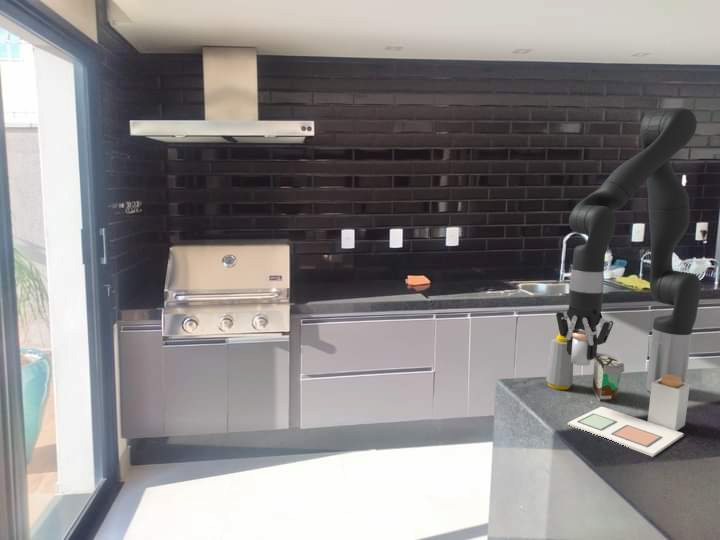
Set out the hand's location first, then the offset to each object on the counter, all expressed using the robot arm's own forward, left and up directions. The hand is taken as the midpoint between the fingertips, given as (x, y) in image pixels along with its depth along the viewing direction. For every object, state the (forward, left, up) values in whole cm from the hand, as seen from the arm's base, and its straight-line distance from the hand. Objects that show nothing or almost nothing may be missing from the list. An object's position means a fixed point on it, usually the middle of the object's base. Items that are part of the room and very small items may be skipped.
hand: (580, 356), depth 137 cm
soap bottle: (-11, -11, -14) cm, 21 cm away
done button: (-8, +18, -4) cm, 20 cm away
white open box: (-8, +18, -13) cm, 24 cm away
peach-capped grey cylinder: (0, 0, -2) cm, 2 cm away
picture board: (+3, +13, -13) cm, 19 cm away
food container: (-15, +1, -14) cm, 20 cm away
